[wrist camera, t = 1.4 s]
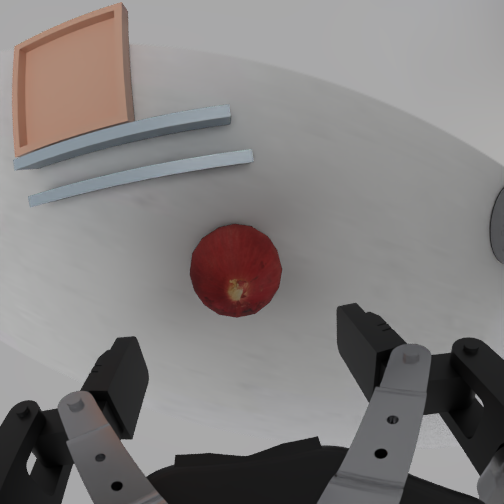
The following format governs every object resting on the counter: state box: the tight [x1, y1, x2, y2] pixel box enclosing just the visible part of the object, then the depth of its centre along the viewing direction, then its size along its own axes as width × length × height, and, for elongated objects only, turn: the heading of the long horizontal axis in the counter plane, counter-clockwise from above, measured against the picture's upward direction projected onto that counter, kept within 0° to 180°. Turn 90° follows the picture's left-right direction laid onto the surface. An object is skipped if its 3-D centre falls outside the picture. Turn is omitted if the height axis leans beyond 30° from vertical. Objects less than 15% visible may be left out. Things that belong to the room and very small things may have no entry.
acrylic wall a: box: [28, 149, 253, 207], centre depth 20 cm, size 16×1×4 cm, turn 97°
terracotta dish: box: [12, 2, 135, 157], centre depth 18 cm, size 10×10×2 cm
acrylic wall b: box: [13, 104, 231, 170], centre depth 19 cm, size 16×1×4 cm, turn 97°
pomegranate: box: [190, 224, 282, 317], centre depth 20 cm, size 6×6×8 cm
